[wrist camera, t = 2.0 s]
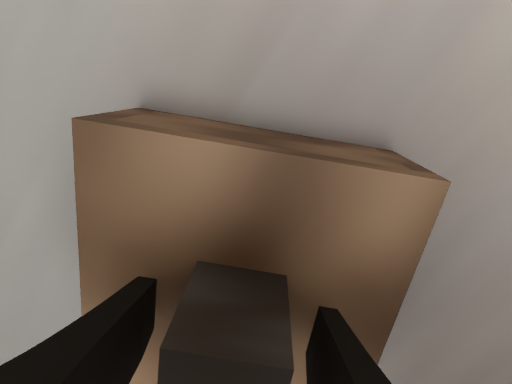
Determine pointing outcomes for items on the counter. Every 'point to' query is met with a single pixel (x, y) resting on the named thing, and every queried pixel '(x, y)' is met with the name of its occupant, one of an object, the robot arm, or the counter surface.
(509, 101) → the counter surface
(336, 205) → the cover
